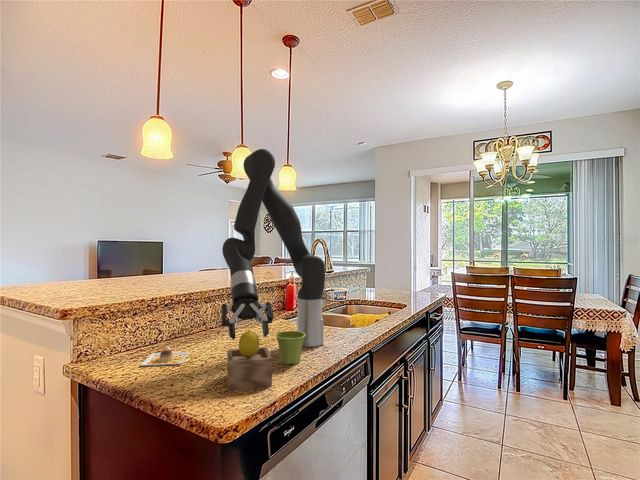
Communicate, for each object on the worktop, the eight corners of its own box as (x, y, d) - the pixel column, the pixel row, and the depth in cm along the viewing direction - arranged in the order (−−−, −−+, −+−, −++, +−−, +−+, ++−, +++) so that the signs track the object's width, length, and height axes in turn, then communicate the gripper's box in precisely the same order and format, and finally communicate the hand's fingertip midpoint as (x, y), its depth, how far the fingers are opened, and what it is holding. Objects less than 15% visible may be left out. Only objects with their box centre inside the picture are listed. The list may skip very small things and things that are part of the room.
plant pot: (293, 369, 104) (293, 340, 104) (269, 363, 109) (269, 335, 109) (310, 360, 112) (311, 333, 112) (287, 355, 117) (287, 329, 117)
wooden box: (266, 372, 101) (266, 346, 102) (271, 387, 91) (272, 358, 91) (227, 376, 98) (227, 349, 98) (228, 392, 88) (228, 362, 88)
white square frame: (139, 369, 104) (139, 353, 104) (151, 356, 116) (152, 342, 116) (181, 367, 106) (181, 351, 106) (189, 354, 118) (189, 340, 118)
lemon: (239, 355, 97) (240, 327, 97) (259, 355, 98) (260, 327, 97) (236, 362, 92) (237, 333, 92) (257, 363, 92) (258, 333, 92)
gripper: (220, 281, 99) (224, 331, 89) (269, 280, 105) (278, 327, 94) (218, 297, 104) (221, 346, 93) (265, 295, 110) (273, 341, 99)
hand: (250, 336), depth 94 cm, fingers open, 8 cm apart
